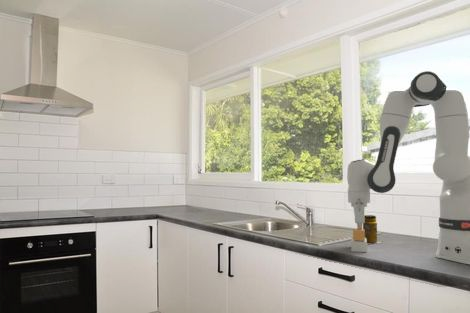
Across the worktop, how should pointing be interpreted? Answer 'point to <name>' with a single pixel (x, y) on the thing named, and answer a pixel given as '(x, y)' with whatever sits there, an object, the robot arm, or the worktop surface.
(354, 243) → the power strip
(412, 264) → the worktop surface
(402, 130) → the robot arm
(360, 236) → the orange wooden cube
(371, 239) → the condiment
